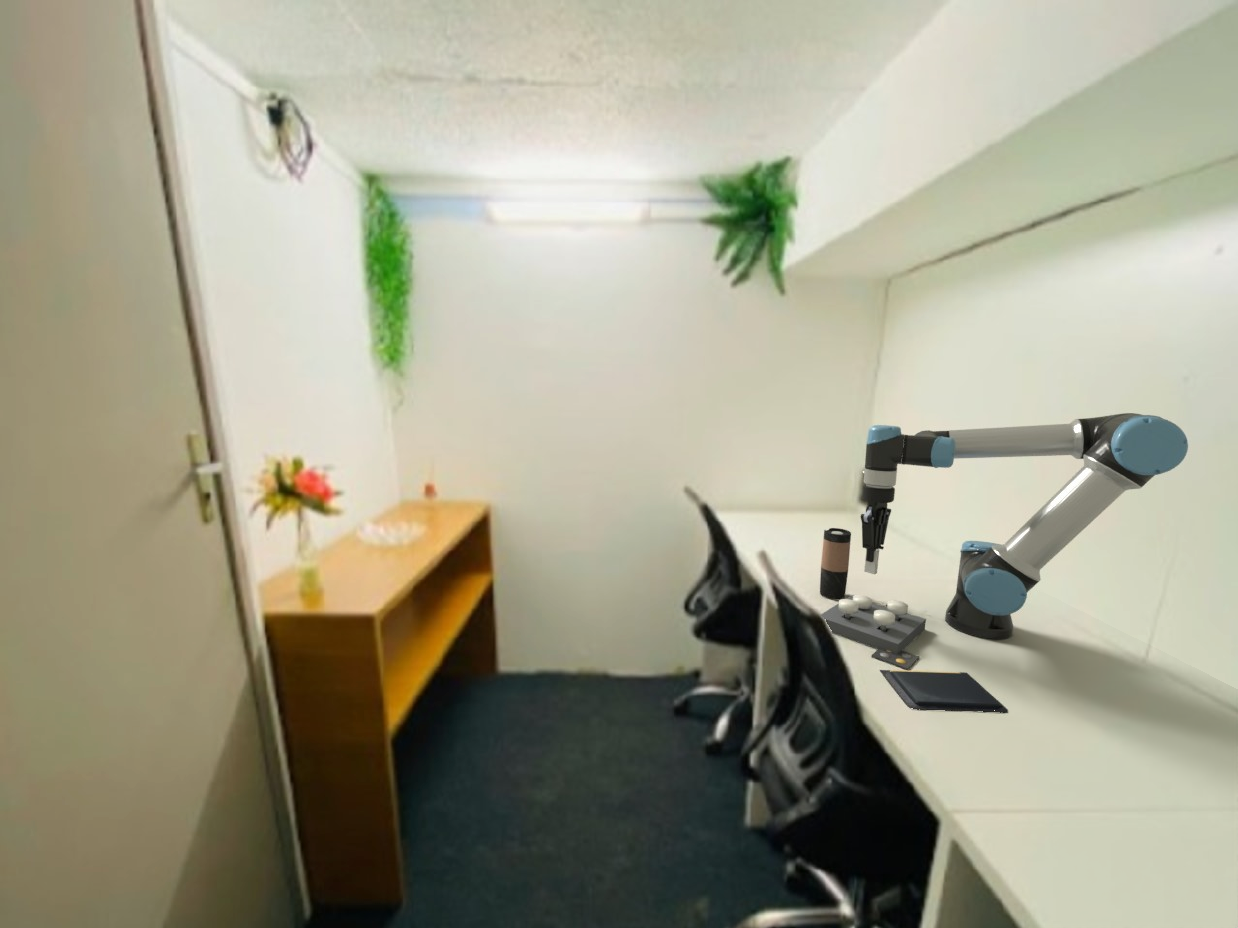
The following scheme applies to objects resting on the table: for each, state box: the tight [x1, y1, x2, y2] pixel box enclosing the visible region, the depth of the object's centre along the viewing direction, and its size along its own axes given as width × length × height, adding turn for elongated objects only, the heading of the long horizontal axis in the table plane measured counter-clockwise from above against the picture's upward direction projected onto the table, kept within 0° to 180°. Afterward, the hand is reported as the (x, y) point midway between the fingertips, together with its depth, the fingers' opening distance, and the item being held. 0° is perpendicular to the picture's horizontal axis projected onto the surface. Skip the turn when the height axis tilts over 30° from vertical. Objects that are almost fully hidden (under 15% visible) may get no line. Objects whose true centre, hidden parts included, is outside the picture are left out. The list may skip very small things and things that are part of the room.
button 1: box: [886, 599, 909, 621], centre depth 142 cm, size 5×5×5 cm
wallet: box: [879, 669, 1009, 714], centre depth 115 cm, size 20×2×15 cm
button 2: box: [873, 610, 895, 632], centre depth 136 cm, size 5×5×5 cm
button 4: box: [838, 598, 859, 620], centre depth 142 cm, size 5×5×5 cm
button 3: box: [852, 594, 873, 610], centre depth 149 cm, size 5×5×5 cm
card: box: [871, 648, 920, 671], centre depth 128 cm, size 8×8×1 cm
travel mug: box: [819, 527, 852, 601], centre depth 163 cm, size 8×8×20 cm
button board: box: [820, 595, 927, 654], centre depth 143 cm, size 20×20×3 cm
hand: (870, 572), depth 143 cm, fingers closed
